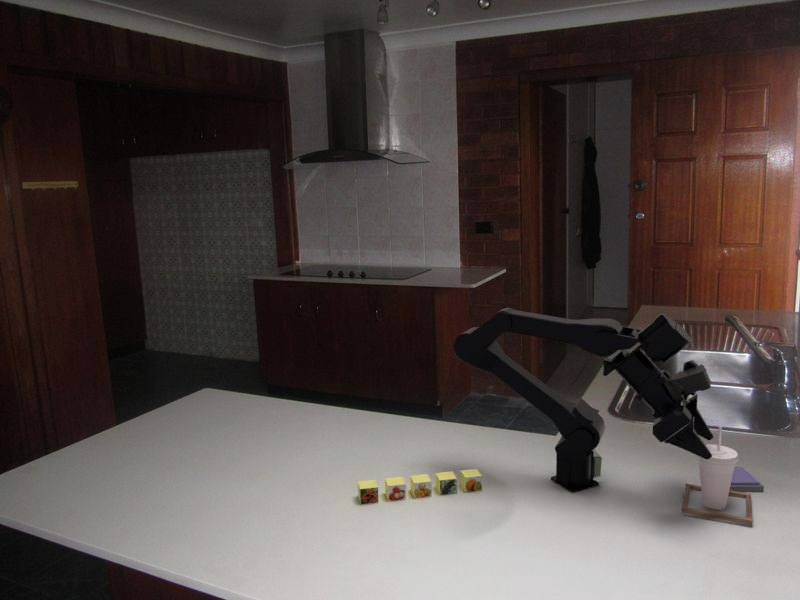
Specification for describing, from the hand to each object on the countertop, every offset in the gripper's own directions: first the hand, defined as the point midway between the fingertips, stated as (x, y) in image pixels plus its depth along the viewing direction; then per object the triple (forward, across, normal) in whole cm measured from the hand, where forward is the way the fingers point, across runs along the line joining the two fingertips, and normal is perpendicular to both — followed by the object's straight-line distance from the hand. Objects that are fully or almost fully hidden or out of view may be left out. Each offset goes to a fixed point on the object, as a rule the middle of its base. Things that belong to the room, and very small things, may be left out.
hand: (710, 448), depth 114 cm
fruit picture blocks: (-24, -16, +40) cm, 50 cm away
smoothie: (+8, 0, +6) cm, 10 cm away
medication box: (-8, +10, +24) cm, 27 cm away
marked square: (+8, 0, +6) cm, 11 cm away
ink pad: (+10, +12, +5) cm, 16 cm away
